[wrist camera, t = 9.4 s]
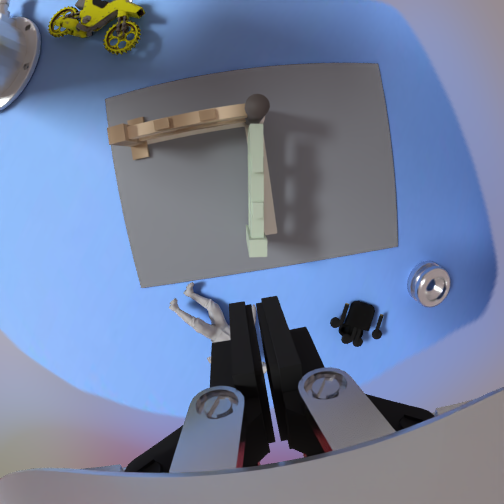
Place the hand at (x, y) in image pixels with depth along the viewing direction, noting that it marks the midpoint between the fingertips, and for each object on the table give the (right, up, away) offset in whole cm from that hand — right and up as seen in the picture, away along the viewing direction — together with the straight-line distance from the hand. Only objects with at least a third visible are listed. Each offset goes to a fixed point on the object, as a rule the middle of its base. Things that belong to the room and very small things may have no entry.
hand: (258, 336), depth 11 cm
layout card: (0, +11, +19) cm, 22 cm away
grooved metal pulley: (+20, 0, +24) cm, 31 cm away
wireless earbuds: (+12, -5, +24) cm, 27 cm away
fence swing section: (0, +9, +19) cm, 21 cm away
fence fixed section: (-6, +15, +17) cm, 23 cm away
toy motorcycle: (-16, +27, +13) cm, 34 cm away
